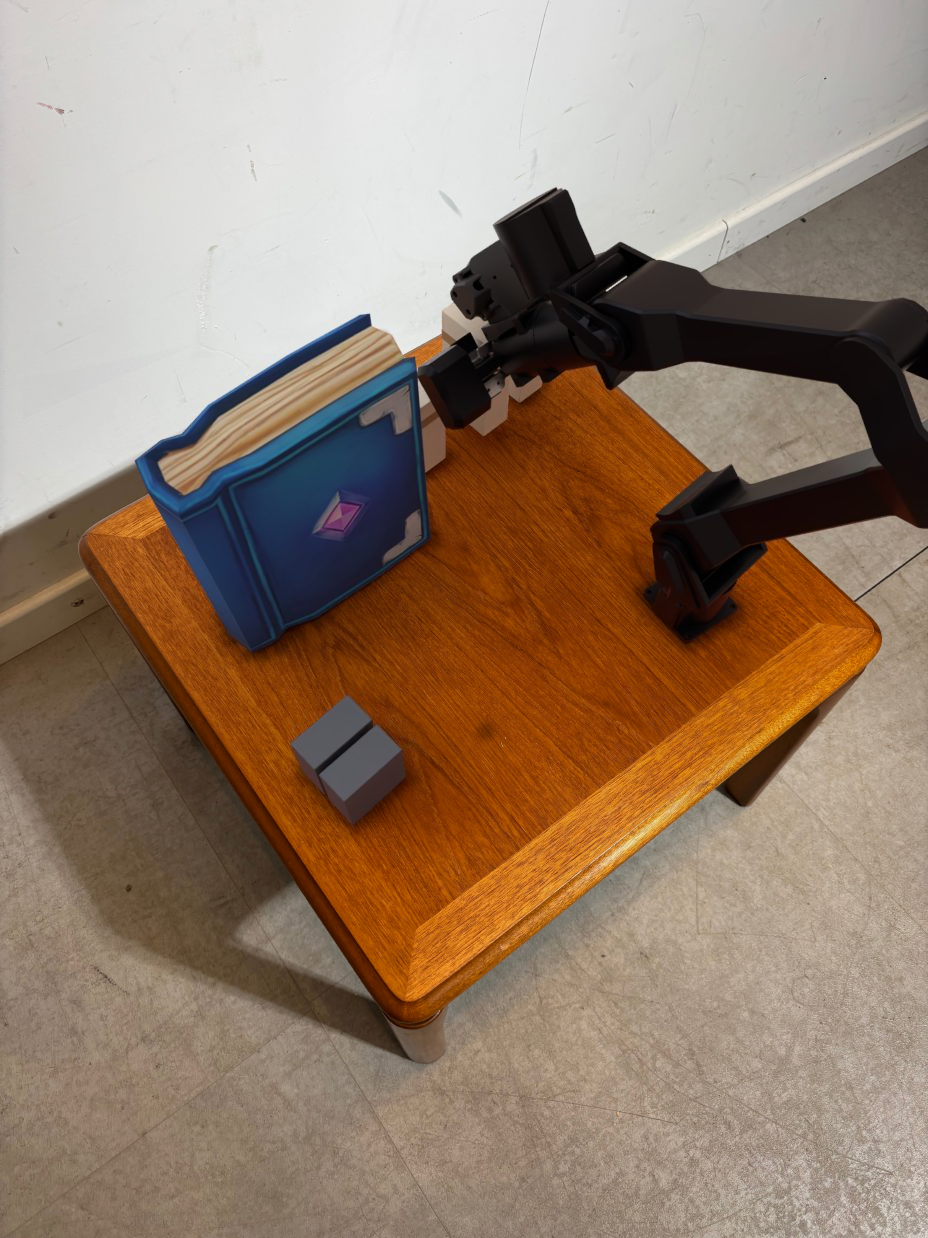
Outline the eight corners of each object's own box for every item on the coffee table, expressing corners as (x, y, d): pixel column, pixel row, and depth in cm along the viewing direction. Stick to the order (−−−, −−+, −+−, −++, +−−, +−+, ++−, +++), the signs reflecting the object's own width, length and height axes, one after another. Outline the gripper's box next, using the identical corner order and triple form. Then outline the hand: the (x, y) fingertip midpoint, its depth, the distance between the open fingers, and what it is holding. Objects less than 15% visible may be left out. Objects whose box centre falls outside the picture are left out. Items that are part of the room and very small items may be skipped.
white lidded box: (507, 418, 92) (514, 326, 81) (483, 437, 91) (487, 345, 80) (467, 386, 94) (468, 291, 83) (442, 403, 93) (440, 309, 82)
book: (246, 671, 80) (168, 513, 58) (204, 616, 83) (114, 445, 61) (435, 542, 87) (429, 356, 65) (390, 495, 90) (371, 300, 67)
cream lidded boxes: (542, 386, 96) (551, 315, 87) (421, 476, 91) (418, 410, 82) (502, 355, 98) (507, 282, 89) (382, 441, 93) (374, 373, 84)
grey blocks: (355, 725, 78) (347, 694, 72) (406, 777, 76) (402, 749, 70) (302, 771, 76) (289, 743, 70) (352, 826, 74) (344, 802, 68)
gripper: (598, 187, 73) (497, 232, 87) (429, 299, 67) (349, 329, 81) (652, 313, 78) (548, 337, 91) (497, 428, 72) (411, 436, 85)
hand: (467, 357), depth 87 cm, fingers closed on white lidded box, 3 cm apart
